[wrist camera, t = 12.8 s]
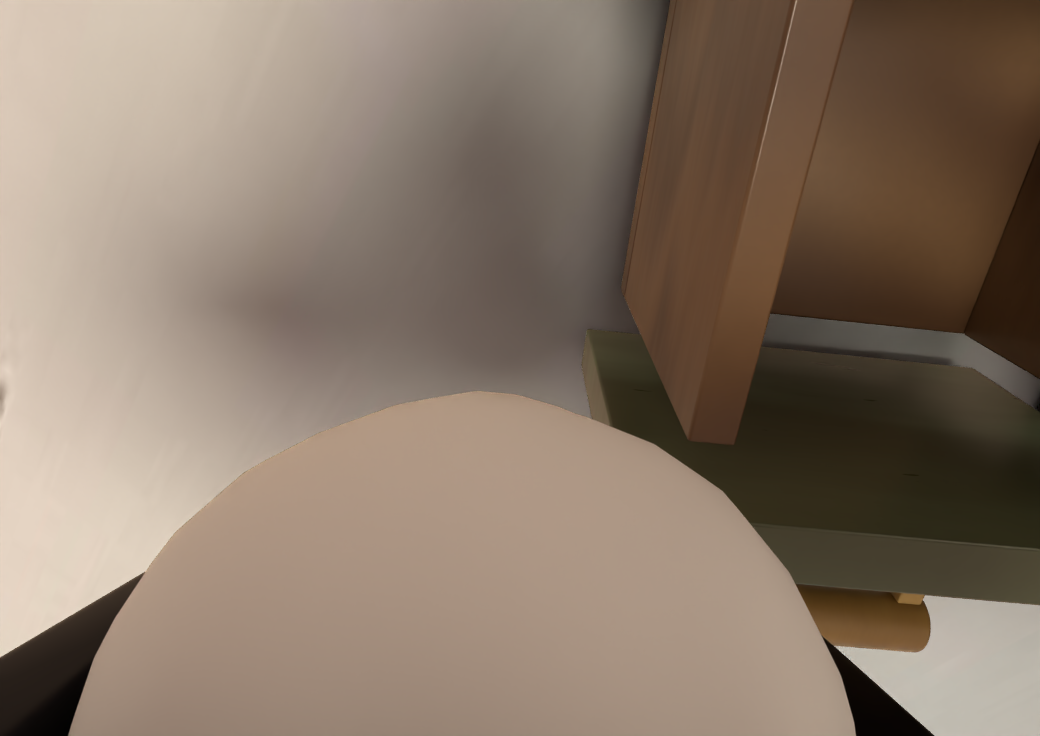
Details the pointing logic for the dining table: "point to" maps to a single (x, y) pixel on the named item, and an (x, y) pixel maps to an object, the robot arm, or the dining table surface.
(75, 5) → the dining table surface
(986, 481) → the drawer
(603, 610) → the plain white apple
